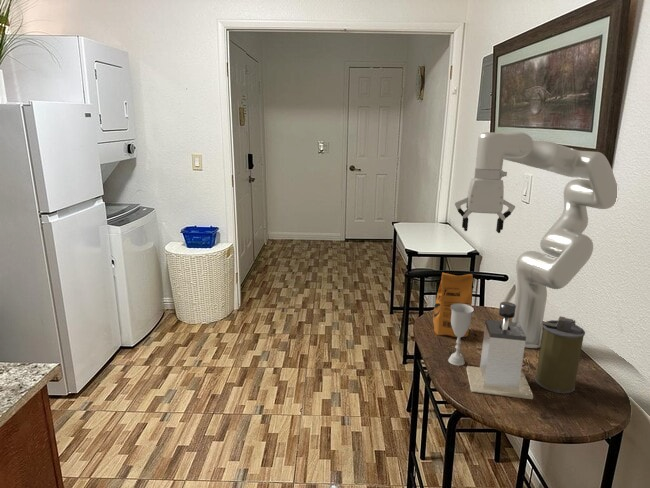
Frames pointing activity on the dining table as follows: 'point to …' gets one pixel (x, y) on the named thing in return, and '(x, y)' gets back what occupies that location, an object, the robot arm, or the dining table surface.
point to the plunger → (506, 313)
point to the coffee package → (451, 301)
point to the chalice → (459, 328)
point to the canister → (559, 355)
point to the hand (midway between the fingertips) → (481, 231)
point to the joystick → (501, 362)
